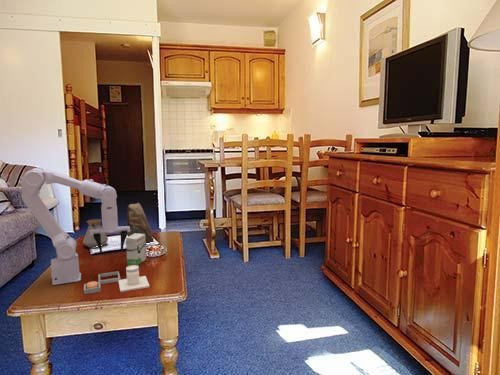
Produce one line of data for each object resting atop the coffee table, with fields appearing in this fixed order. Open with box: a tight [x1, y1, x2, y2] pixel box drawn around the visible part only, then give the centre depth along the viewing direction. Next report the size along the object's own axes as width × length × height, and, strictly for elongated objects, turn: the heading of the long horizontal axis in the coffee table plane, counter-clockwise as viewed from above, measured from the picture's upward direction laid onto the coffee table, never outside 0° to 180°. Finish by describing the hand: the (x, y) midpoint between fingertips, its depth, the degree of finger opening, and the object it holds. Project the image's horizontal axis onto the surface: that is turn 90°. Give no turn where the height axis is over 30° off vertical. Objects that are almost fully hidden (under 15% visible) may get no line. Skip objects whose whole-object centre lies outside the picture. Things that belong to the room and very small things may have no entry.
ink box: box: [125, 233, 147, 266], centre depth 156 cm, size 9×5×12 cm, turn 168°
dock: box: [83, 270, 121, 295], centre depth 135 cm, size 12×14×2 cm
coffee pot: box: [82, 218, 109, 249], centre depth 174 cm, size 21×12×15 cm, turn 21°
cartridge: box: [125, 265, 140, 285], centre depth 133 cm, size 4×4×6 cm
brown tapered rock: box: [125, 202, 154, 243], centre depth 183 cm, size 13×13×20 cm
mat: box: [117, 275, 150, 293], centre depth 134 cm, size 10×10×1 cm
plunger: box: [86, 280, 99, 289], centre depth 129 cm, size 4×4×2 cm
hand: (111, 250), depth 143 cm, fingers open, 7 cm apart
